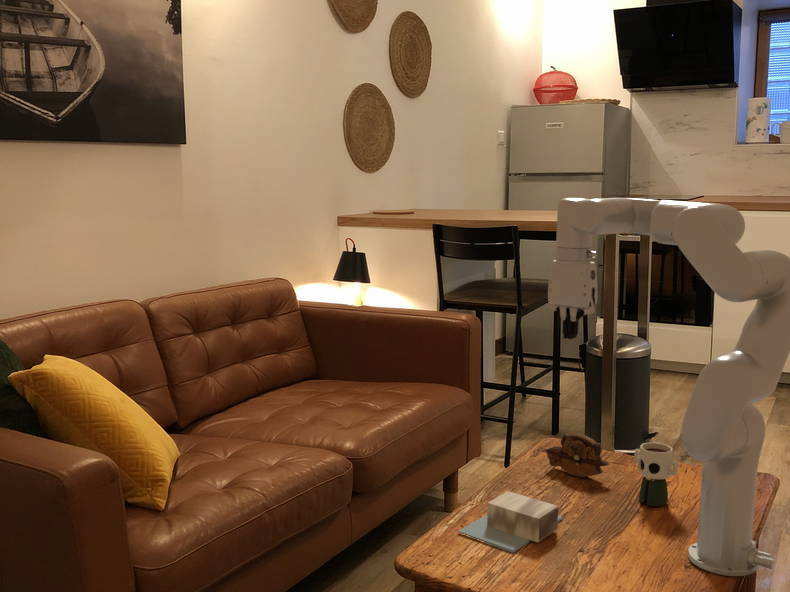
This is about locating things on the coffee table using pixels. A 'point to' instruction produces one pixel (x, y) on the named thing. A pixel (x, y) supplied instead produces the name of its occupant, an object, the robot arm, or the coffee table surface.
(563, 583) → the coffee table surface
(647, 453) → the character mug
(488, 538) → the grey mat
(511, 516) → the birch block
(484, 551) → the coffee table surface
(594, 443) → the wooden carving
